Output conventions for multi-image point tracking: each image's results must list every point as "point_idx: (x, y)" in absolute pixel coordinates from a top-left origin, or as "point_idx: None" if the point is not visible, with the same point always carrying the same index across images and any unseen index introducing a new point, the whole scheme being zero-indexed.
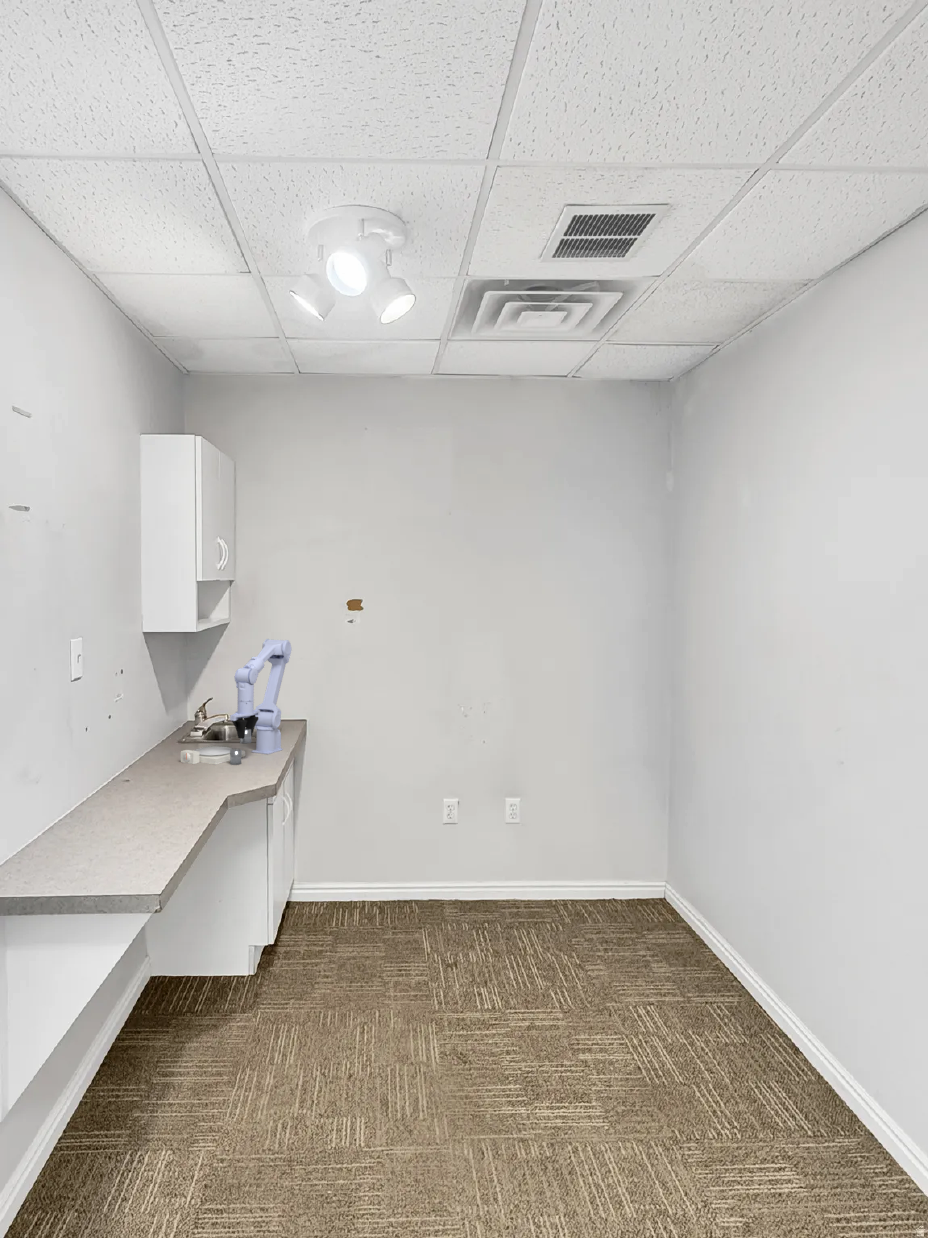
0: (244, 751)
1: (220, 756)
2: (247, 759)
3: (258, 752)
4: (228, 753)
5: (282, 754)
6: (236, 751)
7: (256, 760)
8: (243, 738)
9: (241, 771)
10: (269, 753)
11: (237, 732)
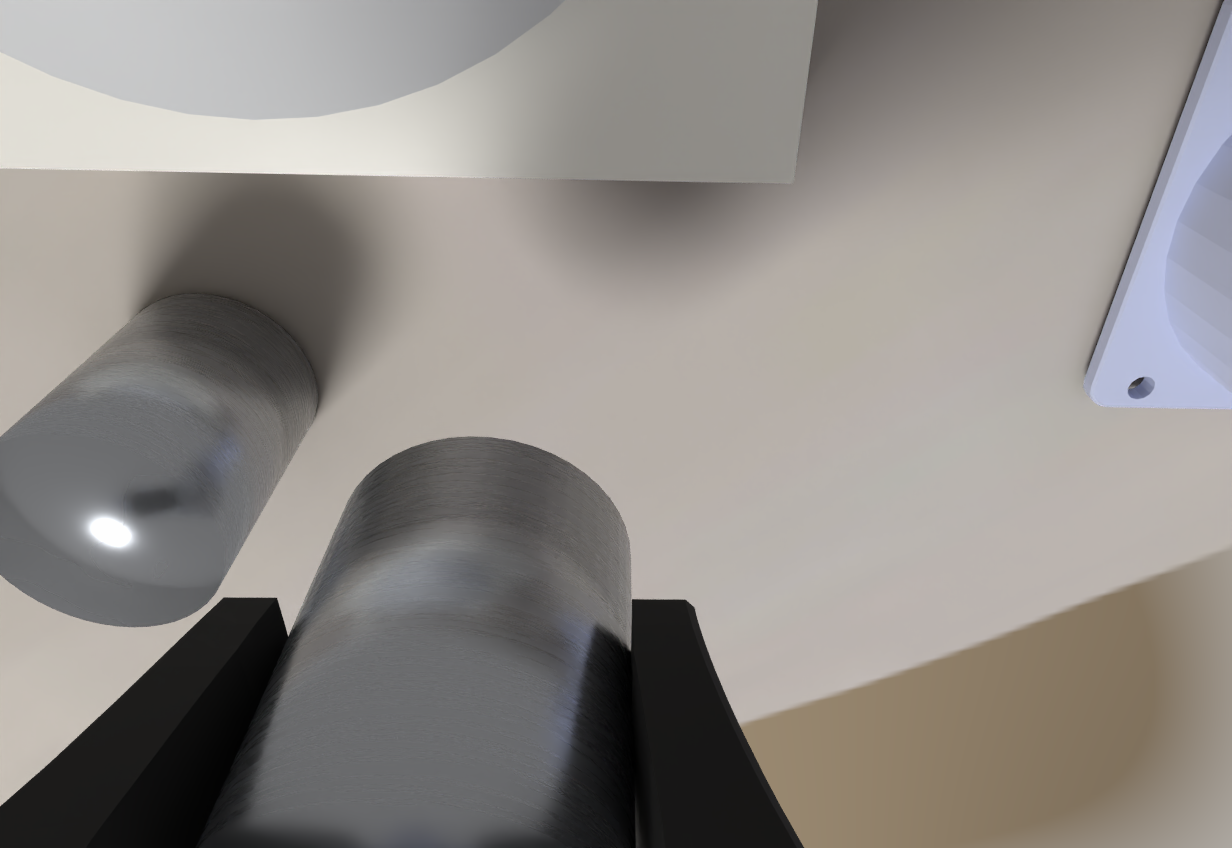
0: (771, 183)
1: (11, 72)
2: (617, 318)
3: (1155, 200)
4: (263, 115)
5: (1171, 542)
6: (42, 601)
7: (633, 471)
8: None
9: (29, 657)
10: (1131, 403)
11: (80, 758)
